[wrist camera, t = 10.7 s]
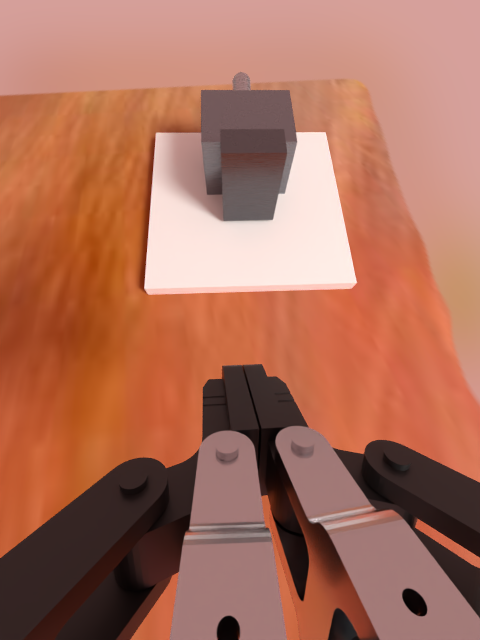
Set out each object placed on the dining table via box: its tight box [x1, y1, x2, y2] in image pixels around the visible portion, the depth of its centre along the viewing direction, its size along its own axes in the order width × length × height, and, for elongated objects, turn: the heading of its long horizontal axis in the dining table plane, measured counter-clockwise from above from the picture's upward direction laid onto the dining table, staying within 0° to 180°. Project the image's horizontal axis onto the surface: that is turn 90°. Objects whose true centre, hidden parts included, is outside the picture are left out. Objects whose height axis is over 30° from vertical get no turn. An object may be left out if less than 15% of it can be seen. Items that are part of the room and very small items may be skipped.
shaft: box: [220, 72, 287, 221], centre depth 32 cm, size 6×20×9 cm, turn 3°
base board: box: [144, 132, 357, 294], centre depth 35 cm, size 24×24×2 cm
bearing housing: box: [201, 90, 297, 195], centre depth 33 cm, size 10×8×7 cm
